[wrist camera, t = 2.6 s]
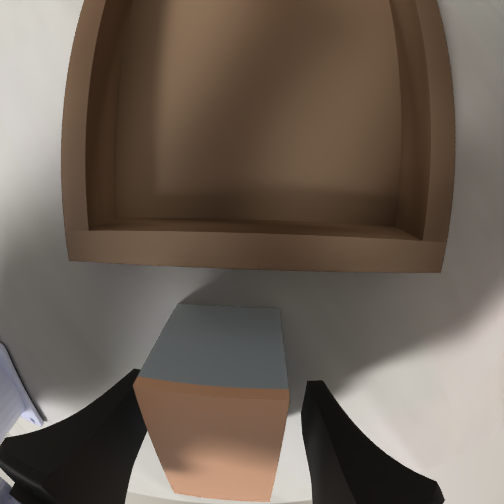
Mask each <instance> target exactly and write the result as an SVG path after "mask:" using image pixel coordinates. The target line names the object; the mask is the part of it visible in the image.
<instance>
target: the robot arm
mask: <svg viewBox="0 0 504 504" xmlns="http://www.w3.org/2000/svg"><path fill="white" fill-rule="evenodd" d="M140 371H141V370H140V369H133V370H132V371H131V372H130V373H128V374H127V375H126V376H125V377H124V378H122V379H121V380H120V381H119V382H118V383H116V384H115V385H114V386H113V387H112V388H110V389H109V390H108V391H107V392H105V393H104V394H103V395H102V396H100V397H99V398H98V399H96V400H95V401H94V402H92V403H91V404H89V405H88V406H87V407H85V408H84V409H82V410H80V411H79V412H77V413H75V414H74V415H72V416H70V417H68V418H66V419H64V420H62V421H60V422H58V423H56V424H53V425H51V426H49V427H46V428H43V429H41V430H38V431H34V432H31V433H27V434H23V435H18V436H13V437H7V438H5V440H4V441H3V442H2V440H3V439H4V437H5V436H6V435H7V433H8V432H9V431H10V429H11V428H12V426H13V425H14V424H15V422H16V421H17V420H18V418H19V417H22V418H24V419H26V420H28V421H30V422H32V423H34V424H36V425H38V426H43V424H44V422H43V420H42V419H41V417H40V416H39V414H38V412H37V410H36V409H35V407H34V405H33V404H32V402H31V400H30V398H29V396H28V394H27V393H26V391H25V389H24V387H23V385H22V383H21V381H20V379H19V377H18V375H17V373H16V370H15V368H14V366H13V364H12V362H11V359H10V357H9V355H8V352H7V350H6V348H5V347H4V346H3V345H2V344H1V343H0V443H1V442H2V444H1V445H0V468H1V469H2V470H3V471H4V472H5V473H6V474H7V475H8V476H9V477H10V478H11V479H12V480H13V481H14V482H15V484H14V486H13V487H11V486H10V485H9V484H8V483H7V482H6V481H5V480H3V479H2V478H1V477H0V504H125V498H126V493H127V489H128V484H129V480H130V476H131V472H132V468H133V465H134V462H135V459H136V457H137V454H138V452H139V449H140V447H141V445H142V442H143V440H144V437H145V435H146V432H147V427H146V425H145V422H144V419H143V416H142V413H141V410H140V407H139V404H138V401H137V398H136V395H135V391H134V388H133V384H134V382H135V380H136V378H137V377H138V375H139V373H140ZM301 422H302V435H303V440H304V445H305V450H306V455H307V460H308V466H309V471H310V476H311V483H312V499H313V504H443V503H444V501H445V499H444V497H443V494H442V492H441V489H440V487H439V485H438V484H437V482H436V481H434V480H431V479H429V478H427V477H425V476H423V475H420V474H418V473H416V472H414V471H412V470H411V469H409V468H407V467H405V466H404V465H402V464H400V463H399V462H398V461H396V460H395V459H393V458H392V457H390V456H389V455H387V454H386V453H385V452H384V451H382V450H381V449H380V448H379V447H377V446H376V445H375V444H374V443H373V442H372V441H371V440H370V439H369V438H368V437H367V436H366V435H365V434H364V433H363V432H362V431H361V430H360V429H359V428H358V427H357V426H356V425H355V424H354V423H353V421H352V420H351V419H350V418H349V417H348V415H347V414H346V413H345V412H344V410H343V409H342V408H341V406H340V405H339V404H338V402H337V401H336V399H335V398H334V397H333V395H332V394H331V392H330V391H329V389H328V388H327V386H326V384H325V383H324V382H323V381H322V380H319V381H307V386H306V391H305V396H304V401H303V406H302V410H301Z"/></svg>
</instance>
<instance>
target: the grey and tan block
mask: <svg viewBox="0 0 504 504" xmlns="http://www.w3.org/2000/svg"><path fill="white" fill-rule="evenodd" d="M133 388H134V391H135V395H136V398H137V401H138V404H139V407H140V410H141V413H142V416H143V419H144V422H145V425H146V427H147V430H148V433H149V436H150V438H151V441H152V443H153V446H154V448H155V451H156V453H157V456H158V458H159V460H160V463H161V465H162V467H163V470H164V472H165V474H166V476H167V479H168V481H169V483H170V485H171V487H172V489H173V491H174V493H177V494H183V495H189V496H196V497H203V498H212V499H222V500H235V501H260V502H270V498H271V494H272V489H273V485H274V480H275V476H276V471H277V466H278V461H279V457H280V451H281V446H282V441H283V436H284V430H285V425H286V419H287V414H288V408H289V402H290V396H289V387H288V377H287V368H286V359H285V350H284V341H283V333H282V324H281V316H280V308H255V307H231V306H212V305H195V304H181V303H178V304H177V306H176V307H175V309H174V311H173V313H172V315H171V316H170V318H169V320H168V322H167V323H166V325H165V327H164V329H163V331H162V332H161V334H160V336H159V338H158V340H157V341H156V343H155V345H154V347H153V349H152V351H151V352H150V354H149V356H148V358H147V360H146V362H145V363H144V365H143V367H142V369H141V371H140V373H139V375H138V377H137V378H136V380H135V382H134V384H133Z"/></svg>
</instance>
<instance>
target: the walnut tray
mask: <svg viewBox="0 0 504 504" xmlns="http://www.w3.org/2000/svg"><path fill="white" fill-rule="evenodd" d="M454 173H455V109H454V95H453V84H452V75H451V67H450V60H449V54H448V48H447V43H446V38H445V33H444V28H443V24H442V19H441V15H440V11H439V8H438V4H437V1H436V0H84V3H83V6H82V10H81V13H80V17H79V20H78V24H77V28H76V32H75V37H74V41H73V46H72V51H71V56H70V62H69V68H68V74H67V81H66V88H65V97H64V107H63V120H62V139H61V183H62V202H63V215H64V226H65V235H66V243H67V250H68V257H69V261H84V262H100V263H118V264H137V265H157V266H179V267H202V268H228V269H257V270H291V271H334V272H404V273H441V269H442V265H443V260H444V254H445V249H446V243H447V237H448V231H449V224H450V217H451V208H452V199H453V188H454Z"/></svg>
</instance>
